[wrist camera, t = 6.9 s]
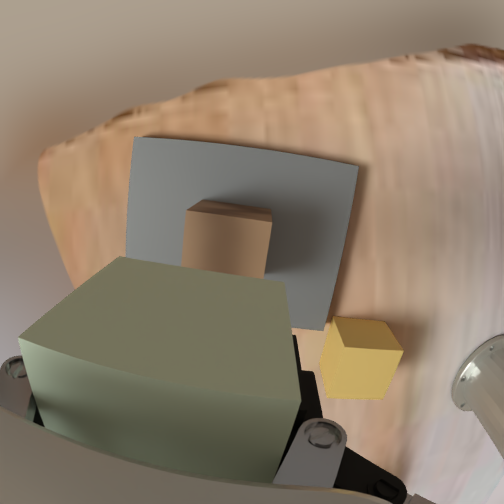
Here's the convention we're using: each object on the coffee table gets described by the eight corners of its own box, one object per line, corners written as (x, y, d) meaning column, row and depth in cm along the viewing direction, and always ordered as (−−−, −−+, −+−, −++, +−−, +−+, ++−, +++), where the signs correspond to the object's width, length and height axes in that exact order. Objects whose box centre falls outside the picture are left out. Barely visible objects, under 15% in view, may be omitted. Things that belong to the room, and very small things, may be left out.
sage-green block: (284, 282, 11) (301, 400, 5) (258, 408, 13) (253, 527, 7) (119, 256, 11) (17, 337, 5) (124, 383, 13) (70, 484, 7)
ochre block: (384, 321, 32) (403, 350, 27) (368, 366, 34) (382, 399, 28) (332, 315, 32) (344, 346, 27) (319, 363, 34) (327, 397, 28)
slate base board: (354, 165, 28) (358, 166, 27) (321, 323, 32) (323, 331, 31) (140, 137, 28) (134, 136, 27) (130, 294, 32) (125, 300, 31)
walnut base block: (271, 209, 28) (272, 222, 22) (260, 274, 30) (259, 302, 24) (202, 199, 28) (185, 210, 22) (195, 264, 30) (179, 289, 24)
